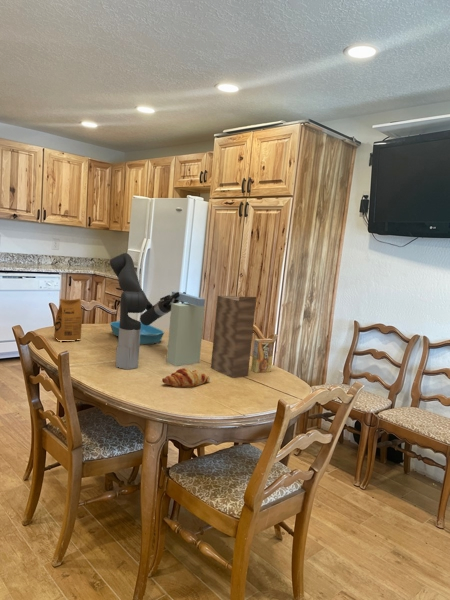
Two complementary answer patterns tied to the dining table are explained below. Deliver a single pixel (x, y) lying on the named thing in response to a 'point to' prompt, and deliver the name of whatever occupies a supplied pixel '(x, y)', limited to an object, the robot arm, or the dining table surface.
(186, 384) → the croissant
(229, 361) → the post
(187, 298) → the rail
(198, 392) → the dining table surface
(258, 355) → the candy box
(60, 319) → the coffee package
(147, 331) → the casserole dish
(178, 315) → the step
